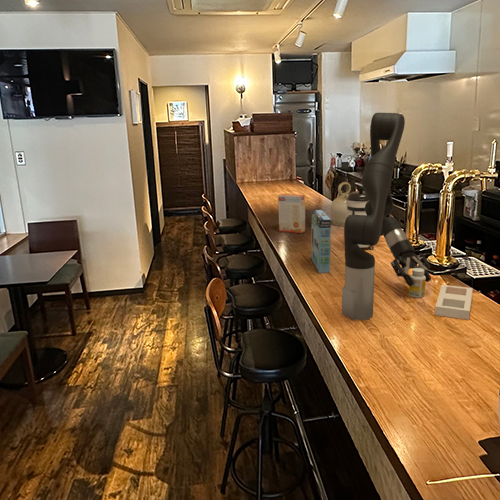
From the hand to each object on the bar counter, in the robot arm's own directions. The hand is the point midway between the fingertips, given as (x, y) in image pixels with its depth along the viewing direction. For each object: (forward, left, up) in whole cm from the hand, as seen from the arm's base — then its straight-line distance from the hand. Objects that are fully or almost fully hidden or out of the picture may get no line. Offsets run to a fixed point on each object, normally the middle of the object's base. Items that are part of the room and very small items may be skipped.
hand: (420, 283), depth 163 cm
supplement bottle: (0, +1, -5) cm, 6 cm away
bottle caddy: (+4, -12, -5) cm, 13 cm away
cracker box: (+10, +107, -5) cm, 108 cm away
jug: (+44, +105, -5) cm, 114 cm away
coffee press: (+22, +60, -5) cm, 65 cm away
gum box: (-11, +47, -5) cm, 49 cm away
